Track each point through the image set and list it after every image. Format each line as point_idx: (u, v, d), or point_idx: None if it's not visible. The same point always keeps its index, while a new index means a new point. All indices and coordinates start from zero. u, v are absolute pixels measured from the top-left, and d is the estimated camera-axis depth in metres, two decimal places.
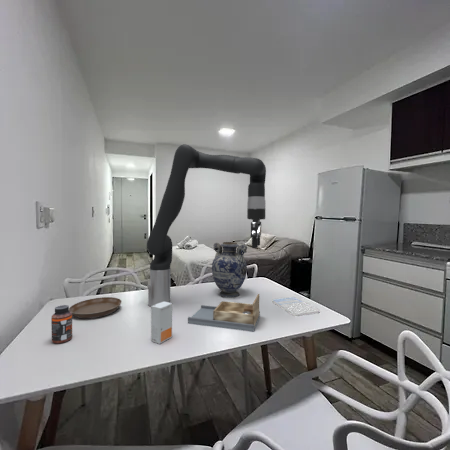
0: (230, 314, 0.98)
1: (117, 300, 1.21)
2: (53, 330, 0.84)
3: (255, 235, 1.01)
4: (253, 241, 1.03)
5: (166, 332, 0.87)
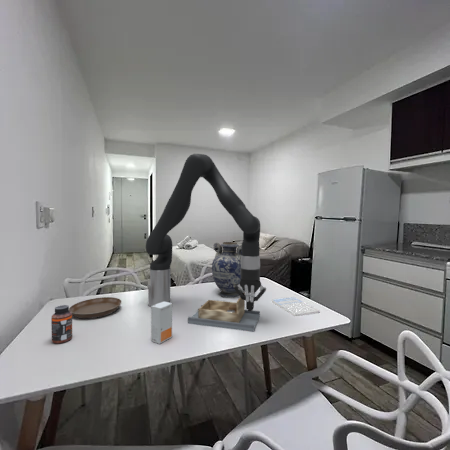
0: (214, 312, 0.99)
1: (117, 300, 1.21)
2: (53, 330, 0.84)
3: None
4: (253, 304, 1.01)
5: (166, 332, 0.87)
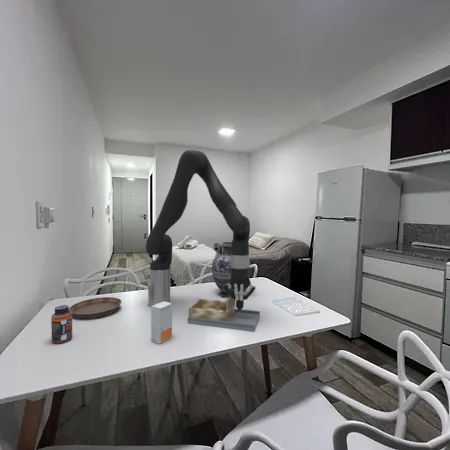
0: (205, 311, 1.01)
1: (117, 300, 1.21)
2: (53, 330, 0.84)
3: None
4: (243, 303, 1.02)
5: (166, 332, 0.87)
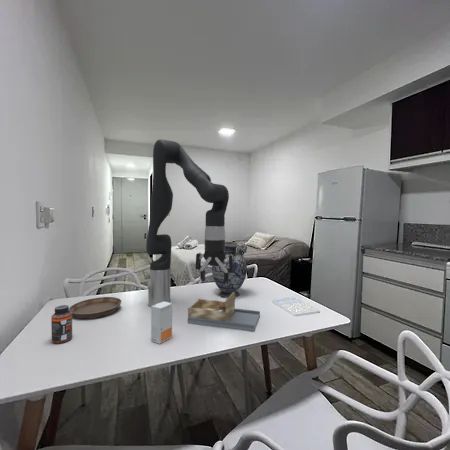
0: (204, 311, 1.01)
1: (117, 300, 1.21)
2: (53, 330, 0.84)
3: (233, 268, 0.95)
4: (228, 275, 0.94)
5: (166, 332, 0.87)
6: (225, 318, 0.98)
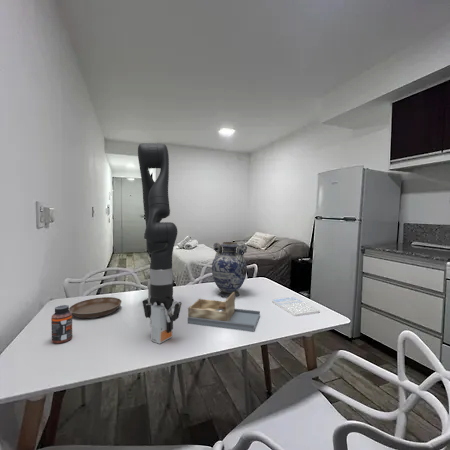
0: (204, 311, 1.01)
1: (117, 300, 1.21)
2: (53, 330, 0.84)
3: (177, 316, 0.87)
4: (171, 324, 0.86)
5: (166, 332, 0.87)
6: (225, 318, 0.98)
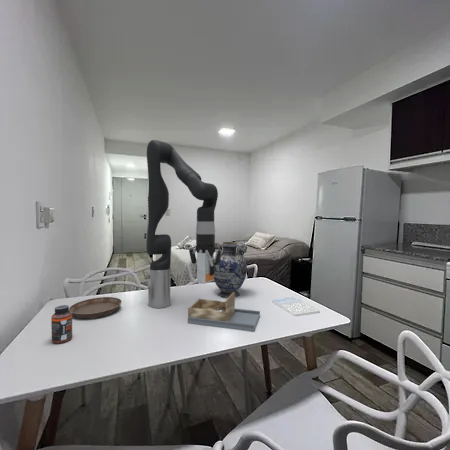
0: (204, 311, 1.01)
1: (117, 300, 1.21)
2: (53, 330, 0.84)
3: (219, 262, 1.03)
4: (213, 268, 1.03)
5: (209, 275, 1.04)
6: (225, 318, 0.98)
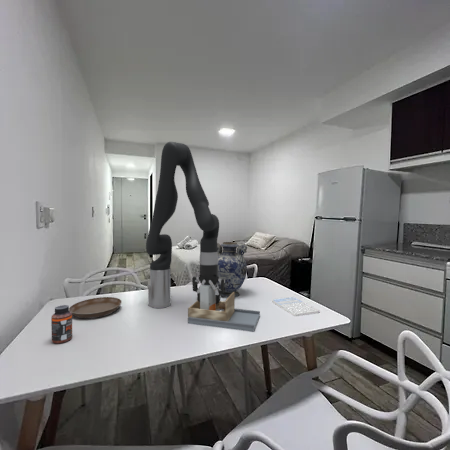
0: (204, 311, 1.01)
1: (118, 300, 1.21)
2: (53, 330, 0.84)
3: (224, 290, 1.05)
4: (219, 297, 1.05)
5: (212, 307, 1.06)
6: (225, 318, 0.98)
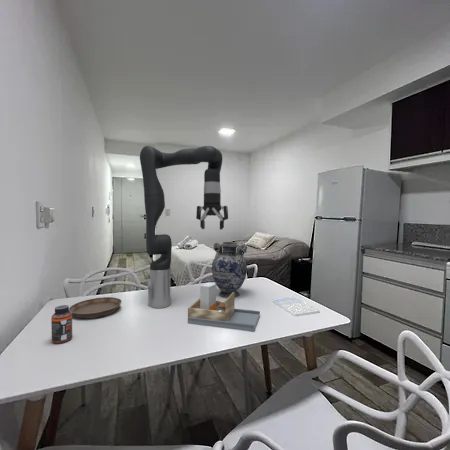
0: (204, 311, 1.01)
1: (118, 300, 1.21)
2: (53, 330, 0.84)
3: (227, 217, 1.14)
4: (223, 223, 1.14)
5: (212, 307, 1.06)
6: (225, 318, 0.98)
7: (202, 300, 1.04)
